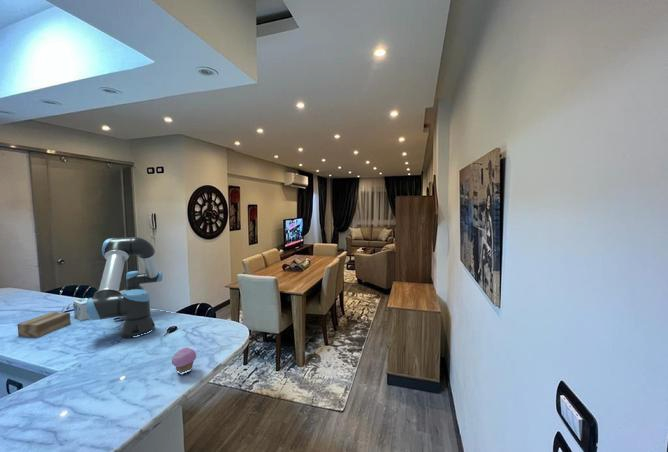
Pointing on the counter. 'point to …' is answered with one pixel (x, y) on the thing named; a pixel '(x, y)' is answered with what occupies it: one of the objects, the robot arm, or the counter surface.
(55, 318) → the walnut block
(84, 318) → the light bulb box
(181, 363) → the cupcake
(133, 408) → the counter surface
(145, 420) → the counter surface
